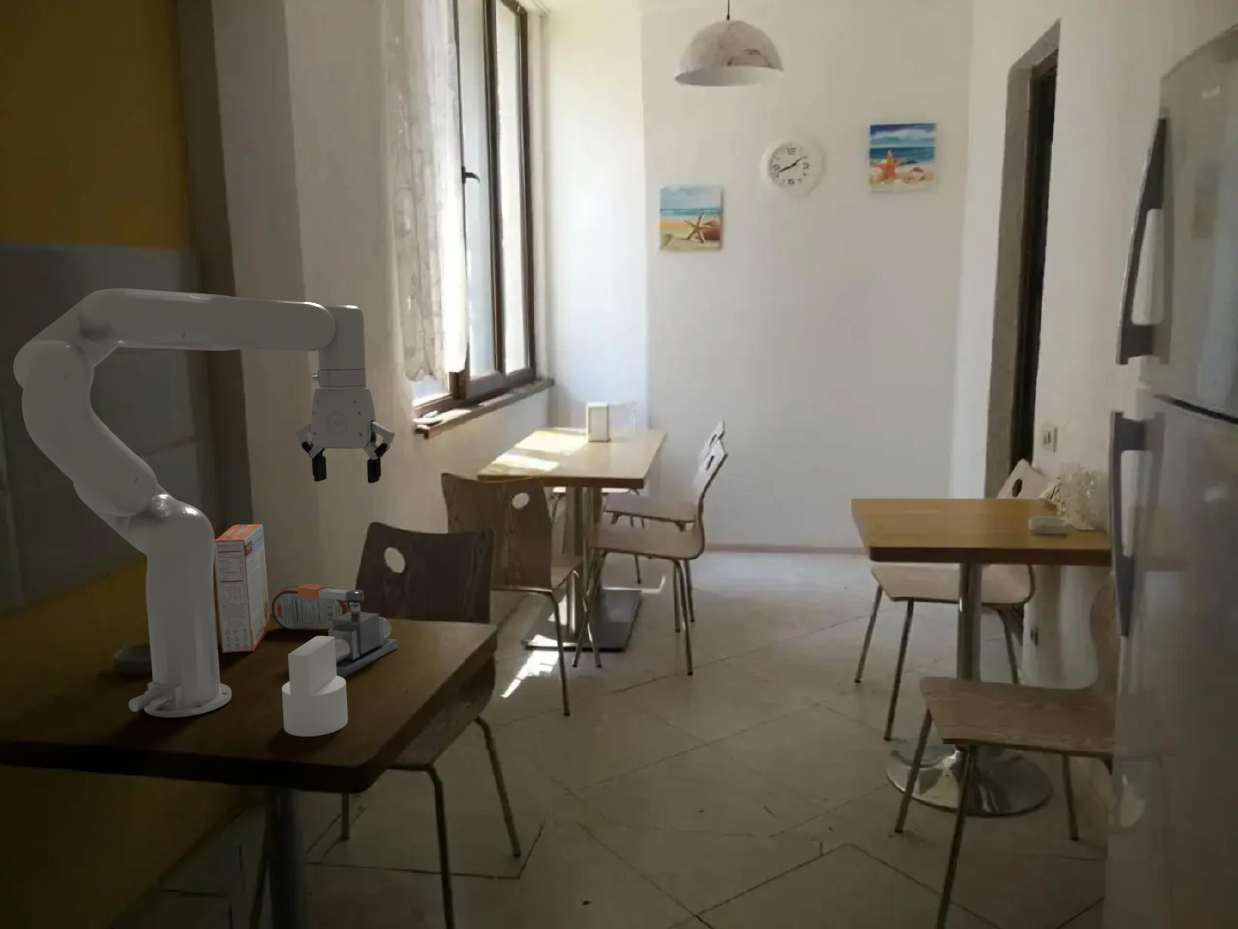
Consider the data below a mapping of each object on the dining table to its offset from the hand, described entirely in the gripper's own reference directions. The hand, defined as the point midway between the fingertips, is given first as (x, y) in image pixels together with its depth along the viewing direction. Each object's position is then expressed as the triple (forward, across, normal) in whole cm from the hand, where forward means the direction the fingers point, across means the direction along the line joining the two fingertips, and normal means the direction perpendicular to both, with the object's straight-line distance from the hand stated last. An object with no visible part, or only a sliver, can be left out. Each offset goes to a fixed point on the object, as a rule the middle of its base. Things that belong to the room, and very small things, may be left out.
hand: (347, 481), depth 171 cm
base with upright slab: (+32, +6, -26) cm, 42 cm away
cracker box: (+32, -25, +8) cm, 42 cm away
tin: (+32, -17, +17) cm, 40 cm away
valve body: (+32, 0, +2) cm, 32 cm away
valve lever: (+21, -5, +2) cm, 22 cm away
